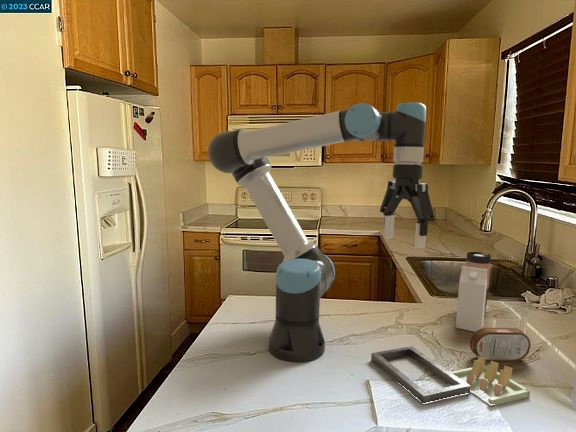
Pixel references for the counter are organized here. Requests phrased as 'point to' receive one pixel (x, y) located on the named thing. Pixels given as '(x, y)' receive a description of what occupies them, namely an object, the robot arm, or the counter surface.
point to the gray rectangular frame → (444, 374)
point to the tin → (500, 344)
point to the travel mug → (480, 265)
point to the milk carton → (471, 298)
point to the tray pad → (506, 395)
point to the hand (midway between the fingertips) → (403, 243)
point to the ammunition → (489, 375)
